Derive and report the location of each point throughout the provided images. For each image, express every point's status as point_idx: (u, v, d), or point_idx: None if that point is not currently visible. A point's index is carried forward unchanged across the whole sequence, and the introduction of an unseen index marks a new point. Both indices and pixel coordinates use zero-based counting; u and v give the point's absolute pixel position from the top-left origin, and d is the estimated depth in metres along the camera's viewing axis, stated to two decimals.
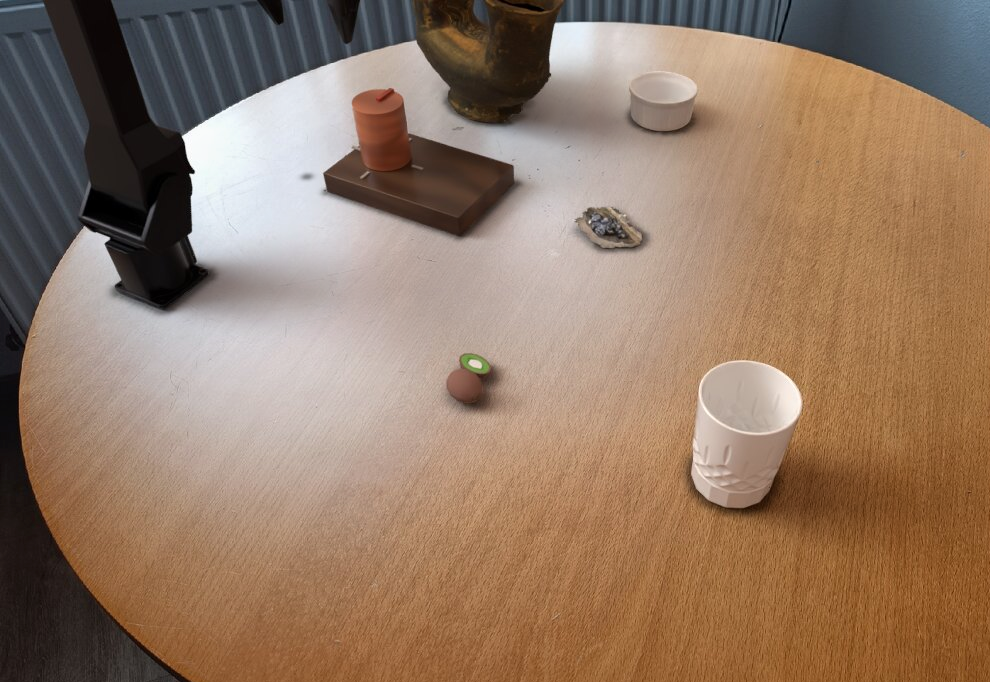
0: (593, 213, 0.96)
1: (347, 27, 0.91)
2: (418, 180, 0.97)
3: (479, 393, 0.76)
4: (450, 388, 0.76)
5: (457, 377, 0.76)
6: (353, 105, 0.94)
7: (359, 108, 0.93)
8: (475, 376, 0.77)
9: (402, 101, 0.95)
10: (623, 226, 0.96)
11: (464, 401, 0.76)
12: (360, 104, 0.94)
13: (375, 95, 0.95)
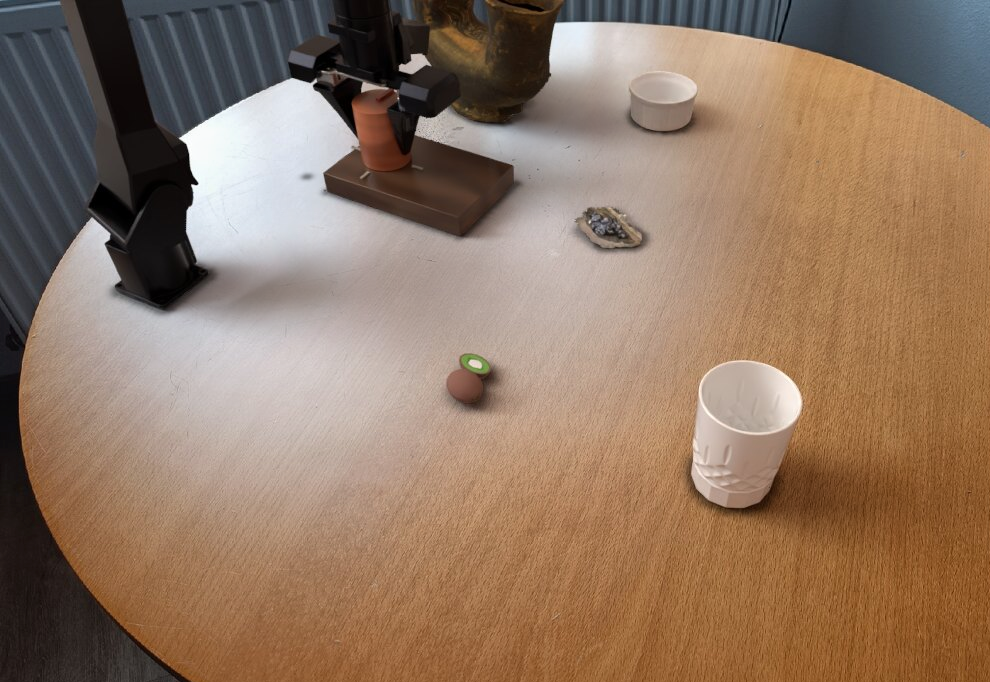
0: (593, 213, 0.96)
1: (407, 141, 0.96)
2: (418, 180, 0.97)
3: (479, 393, 0.76)
4: (450, 388, 0.76)
5: (457, 377, 0.76)
6: (353, 105, 0.94)
7: (359, 108, 0.93)
8: (475, 376, 0.77)
9: None
10: (623, 226, 0.96)
11: (464, 401, 0.76)
12: (360, 104, 0.94)
13: (375, 95, 0.95)
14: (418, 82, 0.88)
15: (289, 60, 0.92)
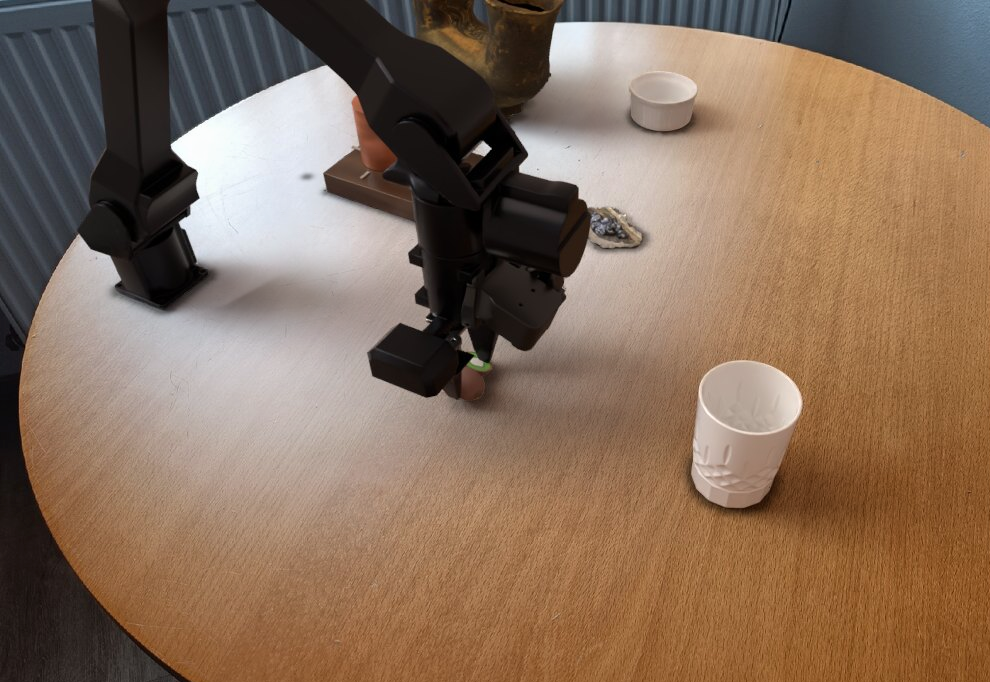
0: (593, 213, 0.96)
1: None
2: None
3: (481, 391, 0.76)
4: None
5: None
6: None
7: None
8: (477, 374, 0.77)
9: None
10: (623, 226, 0.96)
11: (466, 399, 0.76)
12: None
13: None
14: (395, 337, 0.67)
15: None
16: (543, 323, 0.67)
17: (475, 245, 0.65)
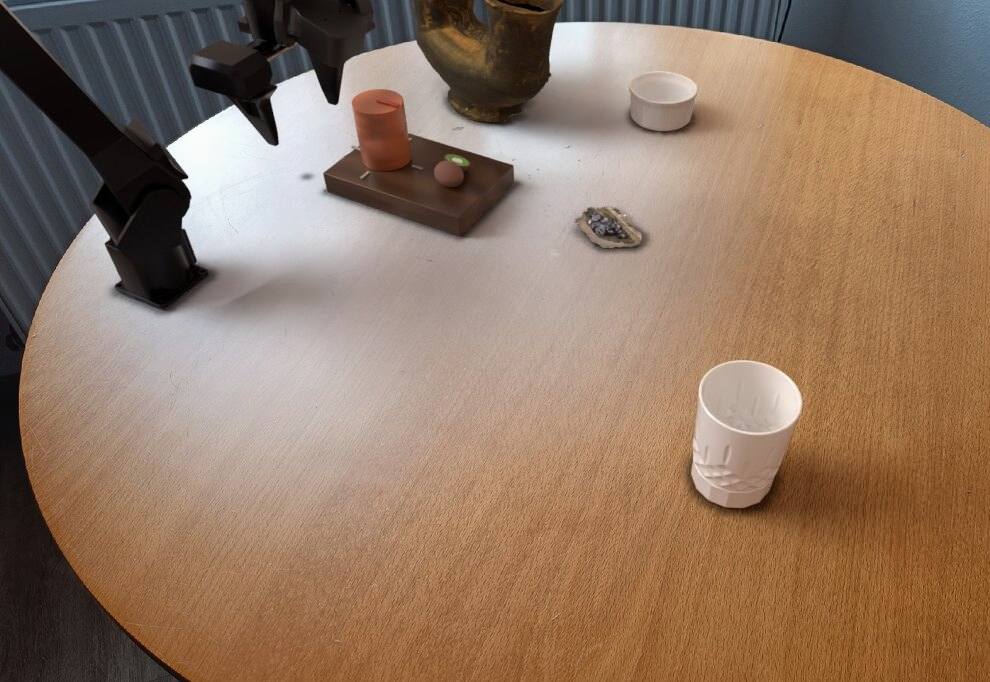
0: (593, 213, 0.96)
1: (258, 127, 0.81)
2: (418, 180, 0.97)
3: (461, 178, 0.95)
4: (437, 174, 0.95)
5: (443, 164, 0.95)
6: (371, 90, 0.96)
7: (364, 93, 0.95)
8: (457, 165, 0.95)
9: (374, 113, 0.93)
10: (623, 226, 0.96)
11: (449, 184, 0.95)
12: (372, 93, 0.96)
13: (389, 99, 0.95)
14: (213, 47, 0.75)
15: None
16: (345, 35, 0.75)
17: None
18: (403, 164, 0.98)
